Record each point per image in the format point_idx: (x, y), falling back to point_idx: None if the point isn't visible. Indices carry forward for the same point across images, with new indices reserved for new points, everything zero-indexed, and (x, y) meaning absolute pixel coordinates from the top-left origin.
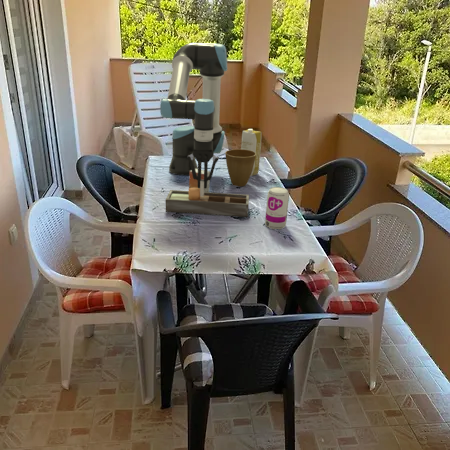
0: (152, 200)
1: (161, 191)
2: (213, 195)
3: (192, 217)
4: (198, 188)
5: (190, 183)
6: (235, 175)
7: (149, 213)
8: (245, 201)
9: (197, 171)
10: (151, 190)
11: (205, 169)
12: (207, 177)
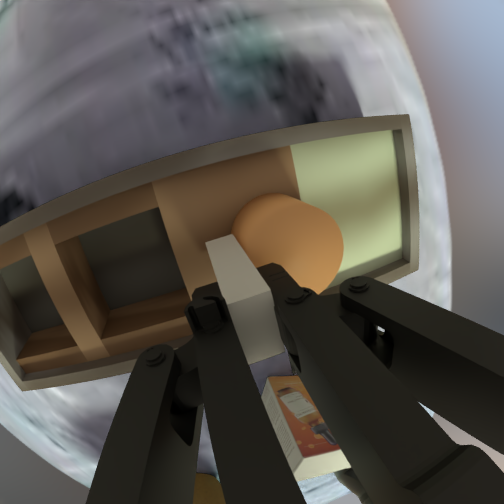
0: (432, 228)
1: None
2: (177, 339)
3: (215, 90)
4: None
5: None
6: (198, 501)
7: (407, 89)
8: (23, 350)
9: (342, 456)
10: None
11: (252, 461)
12: (197, 372)
